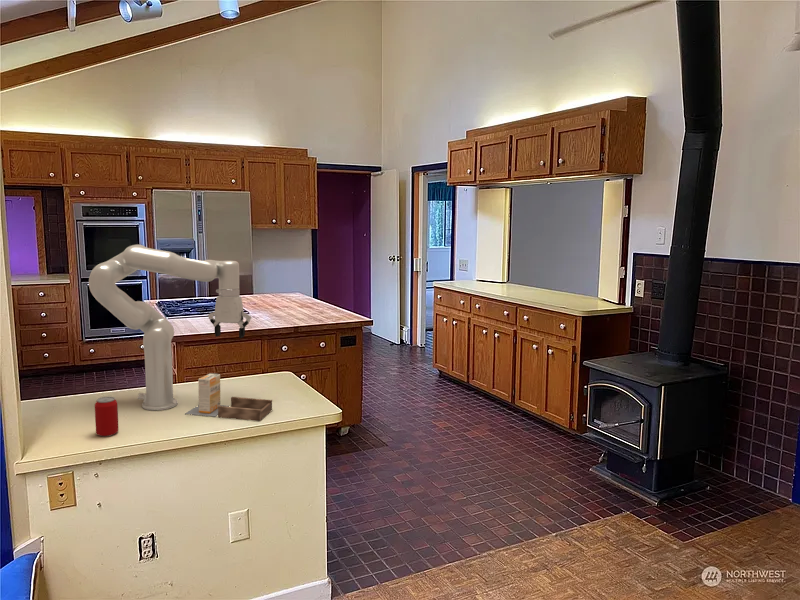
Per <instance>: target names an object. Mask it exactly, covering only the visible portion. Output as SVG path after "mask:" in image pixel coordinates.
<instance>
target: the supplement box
mask: <svg viewBox="0 0 800 600" xmlns="http://www.w3.org/2000/svg"><path fill="white" fill-rule="evenodd" d="M197 382H198V384H197V385H198V405H199V412H200V413H209V414H210V413H211V412H213V411H214V410H216V409H217V408H218V406H220V405H221V374H220V373H210V372H209V373H208V374H206V375H203V376H202V377H199V378H198V381H197Z"/></svg>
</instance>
